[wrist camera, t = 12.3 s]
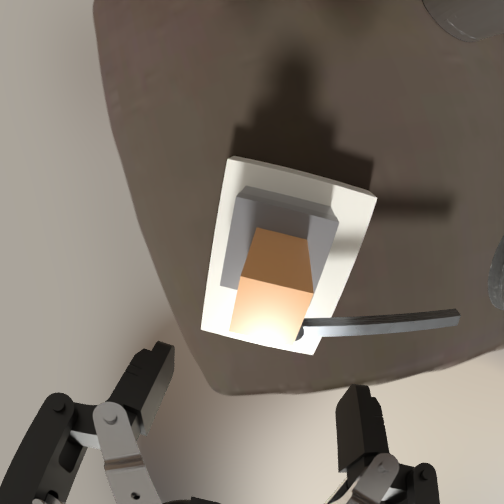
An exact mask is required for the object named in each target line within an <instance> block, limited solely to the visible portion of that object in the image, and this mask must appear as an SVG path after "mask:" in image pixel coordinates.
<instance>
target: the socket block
mask: <svg viewBox="0 0 504 504" xmlns="http://www.w3.org/2000/svg"><path fill="white" fill-rule="evenodd" d="M239 192H241V193H245V194H250V195H254V196H258V197H262V198H267V199H271V200H275V201H279V202H283V203H287V204H291V205H295V206H299V207H303V208H307V209H311V210H315V211H318V212H322V213H326V214H329V215H333V216H336V217H337V219H338V221H339V225H338V228H337V231H336V234H335V237H334V240H333V243H332V246H331V249H330V252H329V255H328V258H327V260H326V263H325V266H324V269H323V272H322V274H321V277H320V280H319V282H318V285H317V288H316V290H315V293H314V296H313V298H312V301H311V303H310V306H309V307H308V310H307V312H306V315H305V317H304V318H331V316H332V314H333V312H334V310H335V307H336V305H337V303H338V301H339V298H340V296H341V294H342V291H343V289H344V287H345V284H346V282H347V279H348V277H349V275H350V272H351V270H352V267H353V265H354V262H355V260H356V257H357V254H358V252H359V249H360V247H361V244H362V241H363V238H364V236H365V233H366V230H367V227H368V225H369V222H370V219H371V216H372V213H373V210H374V207H375V204H376V201H377V197H376V196H375V195H373V194H372V193H371V192H370V191H368V190H365V189H362V188H359V187H356V186H352V185H349V184H346V183H342V182H339V181H336V180H332V179H329V178H325V177H322V176H318V175H314V174H311V173H307V172H303V171H299V170H295V169H291V168H287V167H283V166H279V165H275V164H270V163H266V162H262V161H257V160H252V159H248V158H243V157H238V156H232V157H230V158H228V159H227V164H226V170H225V175H224V181H223V186H222V192H221V198H220V203H219V209H218V215H217V221H216V227H215V233H214V240H213V246H212V253H211V259H210V266H209V273H208V280H207V287H206V294H205V301H204V309H203V316H202V324H201V330H205V331H209V332H212V333H216V334H220V335H224V336H228V337H232V338H236V339H240V340H244V341H248V342H252V343H257V344H261V345H265V346H270V347H275V348H279V349H284V350H289V351H294V352H299V353H305V354H310V355H313V354H314V352H315V350H316V348H317V346H318V344H319V342H320V340H321V338H322V337H302V338H301V339H299V340H298V341H295V342H294V344H293V346H292V345H287V344H282V343H277V342H273V341H268V340H264V339H259V338H255V337H251V336H246V335H242V334H238V333H234V332H230V331H229V328H230V323H231V318H232V314H233V309H234V304H235V299H236V295H237V290H235V289H231V288H227V287H223V286H220V281H221V275H222V270H223V264H224V258H225V253H226V247H227V242H228V236H229V231H230V225H231V220H232V215H233V210H234V204H235V199H236V196H237V195H238V193H239Z"/></svg>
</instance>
